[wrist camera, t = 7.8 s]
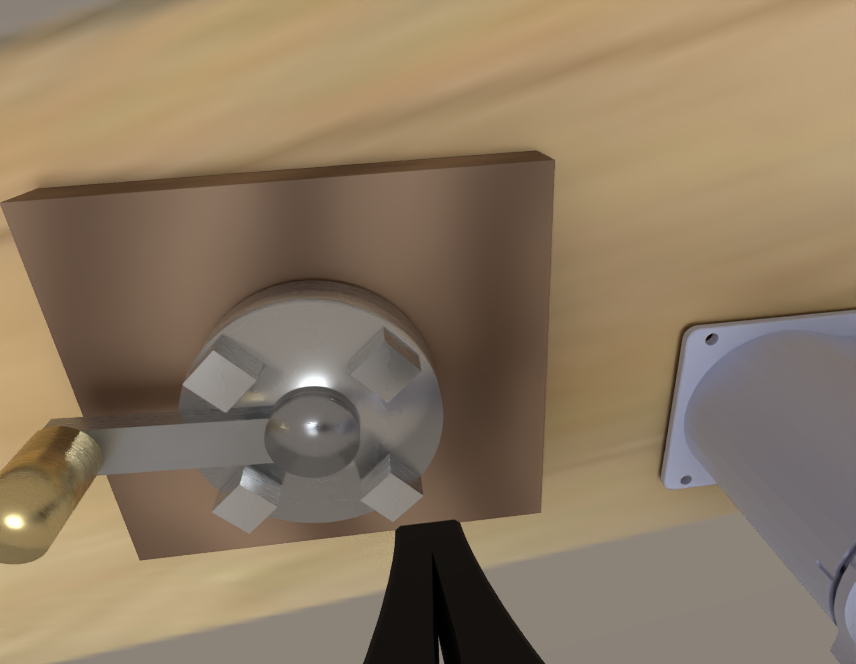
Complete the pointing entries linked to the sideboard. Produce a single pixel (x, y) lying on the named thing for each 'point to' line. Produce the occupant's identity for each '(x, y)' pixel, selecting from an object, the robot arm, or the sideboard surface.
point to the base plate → (300, 261)
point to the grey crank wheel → (259, 422)
